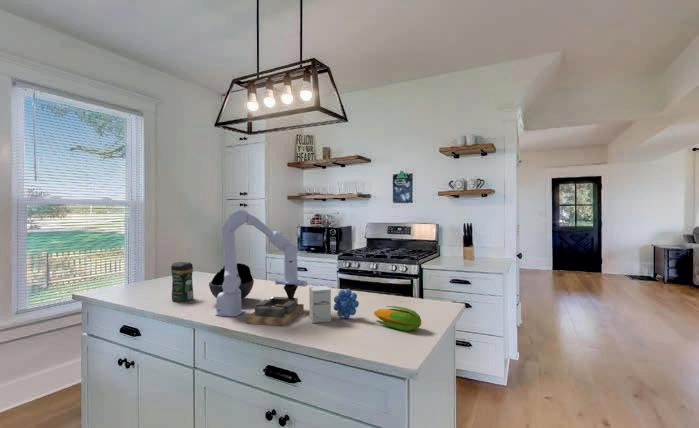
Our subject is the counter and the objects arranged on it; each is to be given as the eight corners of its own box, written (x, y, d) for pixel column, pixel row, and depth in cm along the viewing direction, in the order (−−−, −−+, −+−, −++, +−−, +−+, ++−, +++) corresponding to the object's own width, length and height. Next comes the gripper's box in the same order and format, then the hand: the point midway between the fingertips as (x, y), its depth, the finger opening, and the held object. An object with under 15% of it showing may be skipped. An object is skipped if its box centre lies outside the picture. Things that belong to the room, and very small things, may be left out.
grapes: (364, 317, 136) (363, 287, 136) (355, 322, 131) (355, 291, 131) (339, 313, 143) (339, 284, 142) (330, 317, 137) (330, 288, 137)
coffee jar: (168, 300, 167) (167, 262, 167) (182, 296, 174) (181, 260, 174) (183, 302, 163) (182, 263, 163) (196, 298, 170) (195, 261, 170)
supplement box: (312, 323, 130) (311, 290, 130) (309, 317, 138) (308, 286, 137) (331, 321, 132) (331, 289, 132) (327, 316, 140) (327, 285, 139)
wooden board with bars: (246, 323, 132) (245, 308, 132) (269, 308, 152) (269, 295, 152) (284, 325, 129) (284, 311, 129) (303, 310, 148) (303, 297, 148)
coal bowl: (242, 309, 151) (241, 266, 151) (200, 307, 154) (199, 265, 154) (260, 297, 171) (260, 259, 171) (223, 296, 174) (222, 259, 174)
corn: (415, 313, 117) (367, 303, 129) (414, 335, 116) (367, 324, 129) (425, 309, 122) (379, 300, 135) (425, 331, 122) (378, 320, 135)
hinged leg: (268, 305, 147) (268, 298, 147) (271, 303, 150) (271, 296, 150) (295, 307, 144) (294, 299, 144) (297, 305, 147) (297, 297, 147)
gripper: (271, 271, 148) (271, 302, 148) (301, 273, 143) (301, 305, 143) (279, 268, 154) (280, 298, 155) (309, 270, 149) (309, 301, 150)
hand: (291, 301), depth 149 cm, fingers closed, pressing on hinged leg
